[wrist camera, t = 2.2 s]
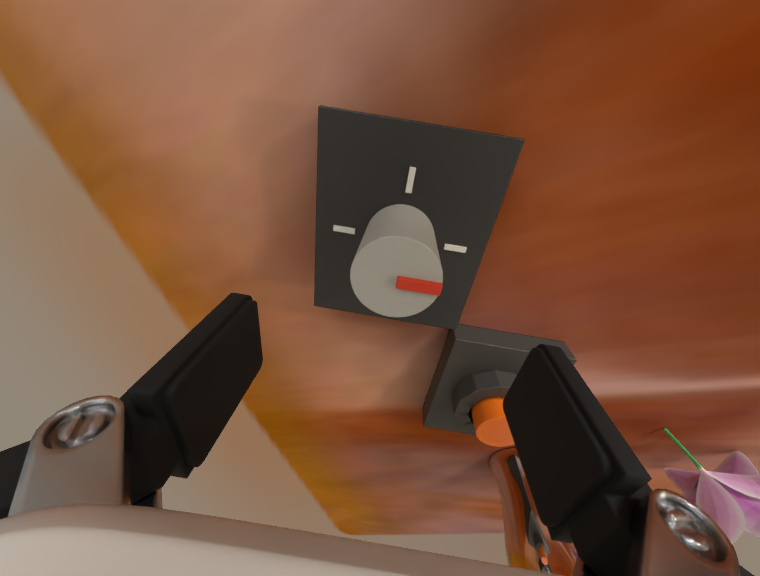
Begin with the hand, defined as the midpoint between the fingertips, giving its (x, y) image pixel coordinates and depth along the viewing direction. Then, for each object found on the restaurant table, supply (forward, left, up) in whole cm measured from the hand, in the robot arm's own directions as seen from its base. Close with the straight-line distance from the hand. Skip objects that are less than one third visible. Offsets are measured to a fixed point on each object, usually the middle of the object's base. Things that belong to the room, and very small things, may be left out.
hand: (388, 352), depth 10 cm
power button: (+14, +11, -9) cm, 20 cm away
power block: (+14, +11, -13) cm, 22 cm away
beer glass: (+27, +19, -13) cm, 35 cm away
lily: (+19, +34, -13) cm, 41 cm away
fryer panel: (0, 0, -13) cm, 13 cm away
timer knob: (0, 0, -10) cm, 10 cm away
